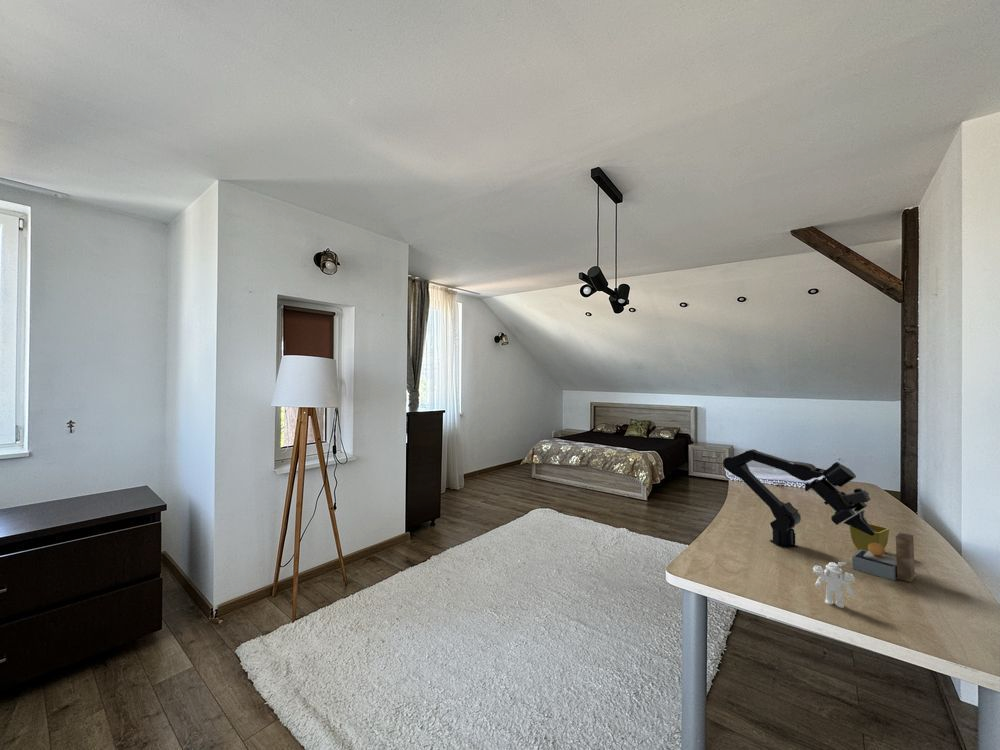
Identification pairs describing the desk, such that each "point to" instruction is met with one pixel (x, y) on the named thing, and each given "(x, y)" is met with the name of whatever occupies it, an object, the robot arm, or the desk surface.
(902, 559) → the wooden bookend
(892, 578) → the shallow blue-grey tray
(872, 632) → the desk surface
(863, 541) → the flower pot
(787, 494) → the desk surface
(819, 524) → the desk surface
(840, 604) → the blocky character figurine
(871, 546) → the ball
